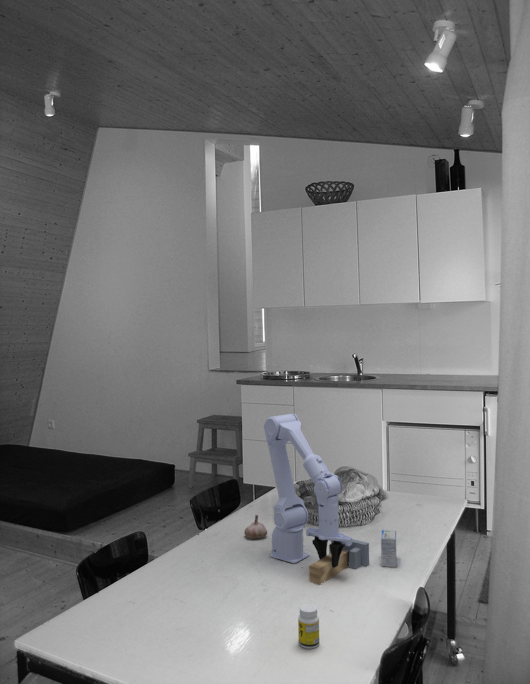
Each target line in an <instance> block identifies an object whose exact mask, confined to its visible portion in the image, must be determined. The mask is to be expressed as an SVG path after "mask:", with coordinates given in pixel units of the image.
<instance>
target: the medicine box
mask: <svg viewBox="0 0 530 684" xmlns="http://www.w3.org/2000/svg"><path fill="white" fill-rule="evenodd" d="M380 537H381V538H380V547H381V548H380V549H381V551H380V552H381V553H380V557H381V558H380V559H381V561H380V562H381V567H383V566H386V567H385V568H397V562H398V561H397V530H395V529H394V530H393V529H382V530H381V536H380Z"/></svg>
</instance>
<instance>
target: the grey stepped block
mask: <svg viewBox="0 0 530 684" xmlns="http://www.w3.org/2000/svg"><path fill="white" fill-rule="evenodd" d="M332 543H333V541H330V544H332ZM328 547H329V546H328ZM328 549H329V551H328V552H329V553H328V555H329V554H330V553H331V551H330V547H329V548H328ZM343 550H347V551H349V566H348V567H349V568H350V569H354V570H357V569H359V568H360V567H362V566H363V567H367V566H369V565H370V543H369V542H367V541H362V540H358V539H354V538H352V545H350V546H346V544H345V546H344V548H343ZM359 566H360V567H359Z"/></svg>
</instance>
